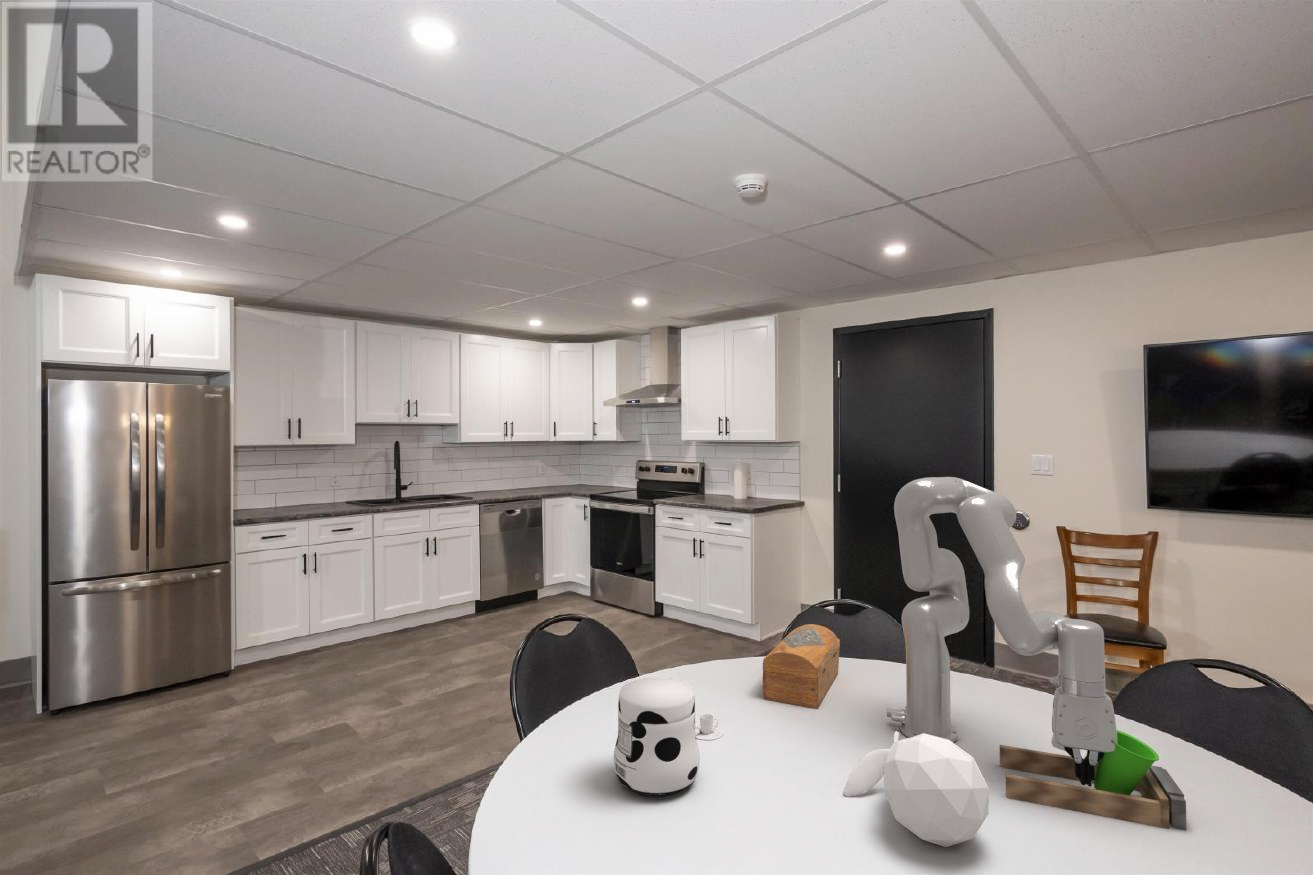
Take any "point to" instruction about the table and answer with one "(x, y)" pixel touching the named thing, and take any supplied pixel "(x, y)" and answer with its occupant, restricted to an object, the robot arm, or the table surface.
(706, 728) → the teacup and saucer
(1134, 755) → the cup
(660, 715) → the milk container
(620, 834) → the table surface
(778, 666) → the wooden box
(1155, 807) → the bay
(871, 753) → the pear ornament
